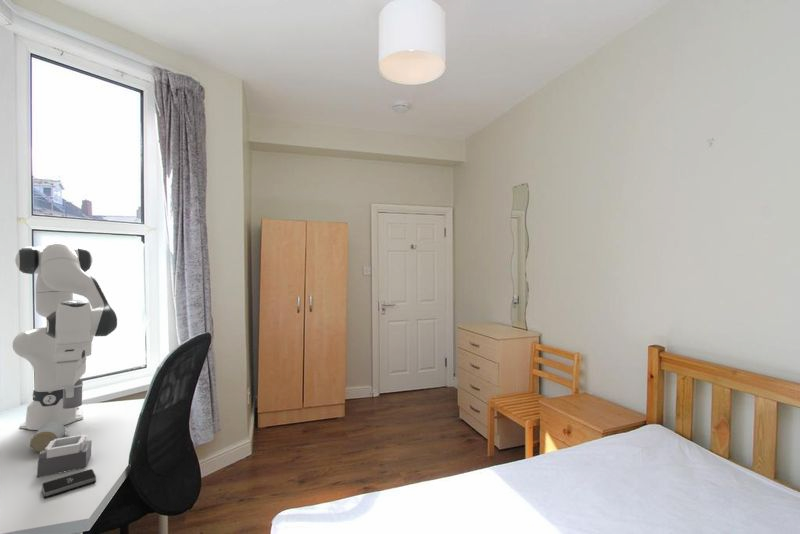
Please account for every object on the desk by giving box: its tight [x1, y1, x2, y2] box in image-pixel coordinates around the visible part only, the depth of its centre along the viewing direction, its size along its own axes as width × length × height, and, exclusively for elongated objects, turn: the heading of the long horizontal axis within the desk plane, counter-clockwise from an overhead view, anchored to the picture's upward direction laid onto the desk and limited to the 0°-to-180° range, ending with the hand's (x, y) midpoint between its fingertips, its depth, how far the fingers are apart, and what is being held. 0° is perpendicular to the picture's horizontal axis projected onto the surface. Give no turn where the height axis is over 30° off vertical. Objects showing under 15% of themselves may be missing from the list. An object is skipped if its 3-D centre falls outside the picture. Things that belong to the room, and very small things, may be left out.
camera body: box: [36, 433, 92, 478], centre depth 115 cm, size 9×11×8 cm
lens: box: [63, 378, 84, 409], centre depth 117 cm, size 5×5×8 cm
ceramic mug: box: [29, 422, 70, 453], centre depth 127 cm, size 11×8×8 cm
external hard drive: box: [41, 468, 97, 499], centre depth 104 cm, size 7×11×2 cm, turn 138°
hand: (72, 394), depth 117 cm, fingers closed on lens, 5 cm apart
